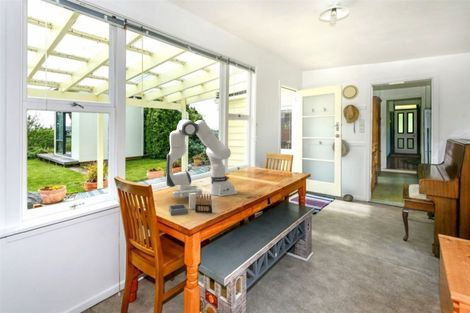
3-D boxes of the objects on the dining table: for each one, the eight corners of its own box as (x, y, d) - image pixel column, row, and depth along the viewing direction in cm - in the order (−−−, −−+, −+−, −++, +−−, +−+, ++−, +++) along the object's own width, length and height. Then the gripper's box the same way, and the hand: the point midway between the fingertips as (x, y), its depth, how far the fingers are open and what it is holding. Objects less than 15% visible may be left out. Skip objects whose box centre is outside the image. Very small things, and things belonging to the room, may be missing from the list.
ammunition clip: (195, 212, 158) (194, 193, 156) (196, 211, 160) (195, 192, 158) (211, 213, 156) (211, 194, 155) (212, 212, 158) (212, 193, 156)
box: (184, 208, 165) (184, 204, 165) (187, 213, 156) (187, 208, 155) (169, 210, 162) (169, 205, 161) (170, 215, 152) (170, 210, 152)
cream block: (195, 207, 168) (194, 192, 167) (196, 208, 164) (196, 193, 163) (189, 207, 166) (188, 193, 165) (190, 209, 163) (189, 194, 162)
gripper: (172, 188, 183) (174, 192, 170) (199, 185, 190) (203, 189, 177) (172, 196, 184) (174, 201, 171) (199, 193, 191) (204, 198, 178)
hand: (189, 195), depth 174 cm, fingers open, 8 cm apart
